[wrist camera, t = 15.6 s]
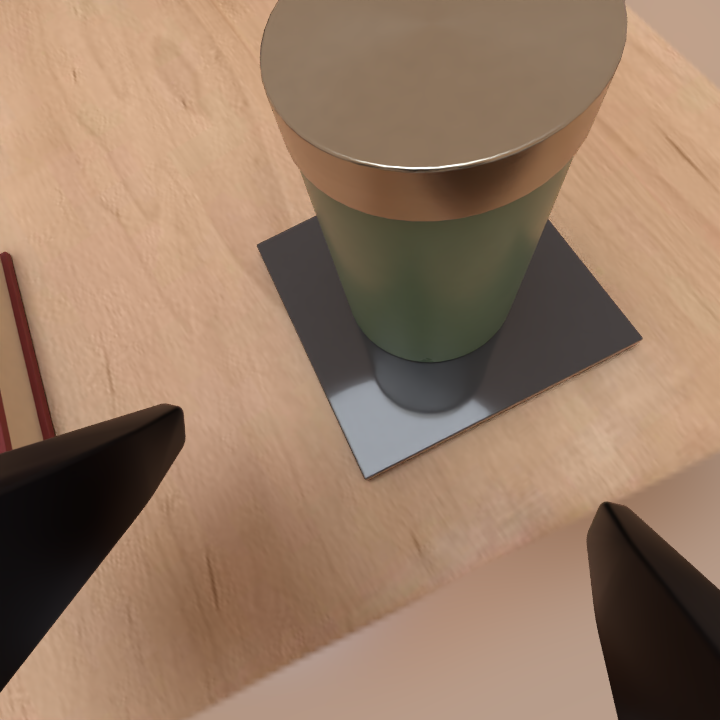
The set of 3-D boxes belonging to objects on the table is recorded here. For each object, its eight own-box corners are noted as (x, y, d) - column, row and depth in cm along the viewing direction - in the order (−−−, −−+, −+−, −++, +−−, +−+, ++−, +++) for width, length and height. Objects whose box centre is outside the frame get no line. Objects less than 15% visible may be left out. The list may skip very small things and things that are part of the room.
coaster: (636, 344, 16) (643, 338, 16) (367, 481, 16) (364, 480, 15) (479, 144, 20) (481, 133, 20) (260, 252, 20) (255, 244, 19)
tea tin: (465, 396, 16) (524, 229, 6) (315, 317, 18) (191, 98, 8) (545, 253, 17) (688, -57, 8) (398, 193, 19) (371, -114, 10)
